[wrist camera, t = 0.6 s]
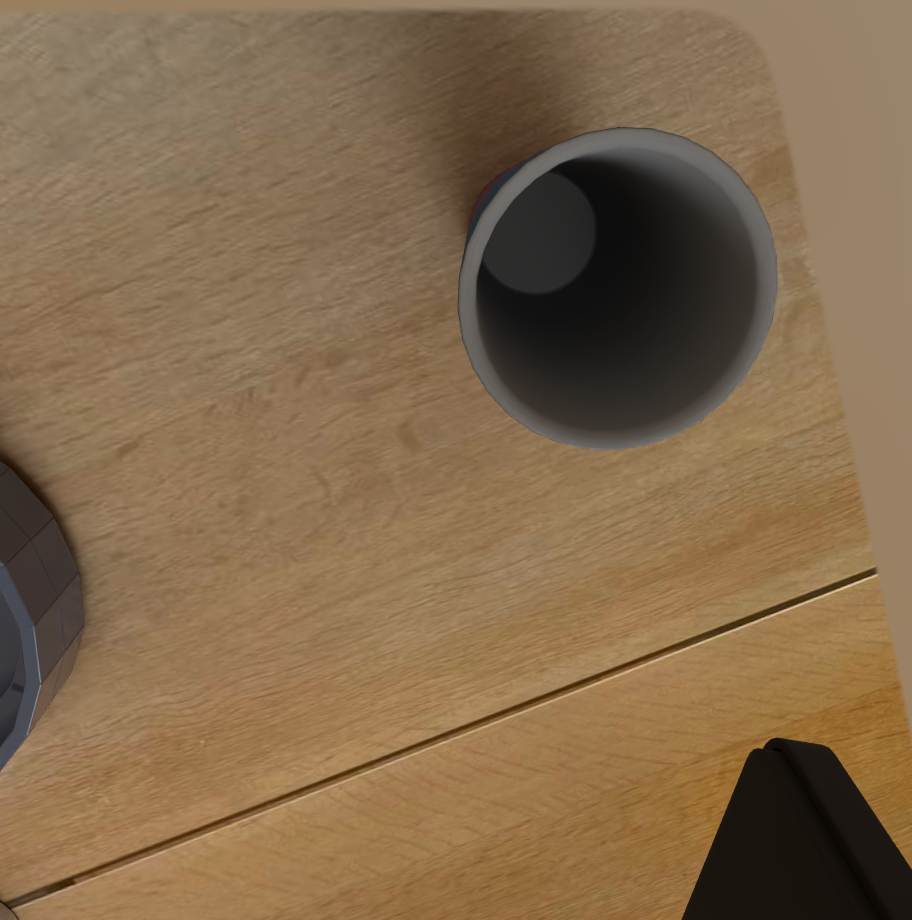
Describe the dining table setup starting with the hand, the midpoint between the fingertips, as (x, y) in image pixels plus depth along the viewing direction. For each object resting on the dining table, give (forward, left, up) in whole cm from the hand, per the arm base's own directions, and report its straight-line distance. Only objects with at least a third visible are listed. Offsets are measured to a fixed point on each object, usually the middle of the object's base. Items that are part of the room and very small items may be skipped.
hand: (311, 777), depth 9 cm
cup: (-4, +5, -26) cm, 27 cm away
